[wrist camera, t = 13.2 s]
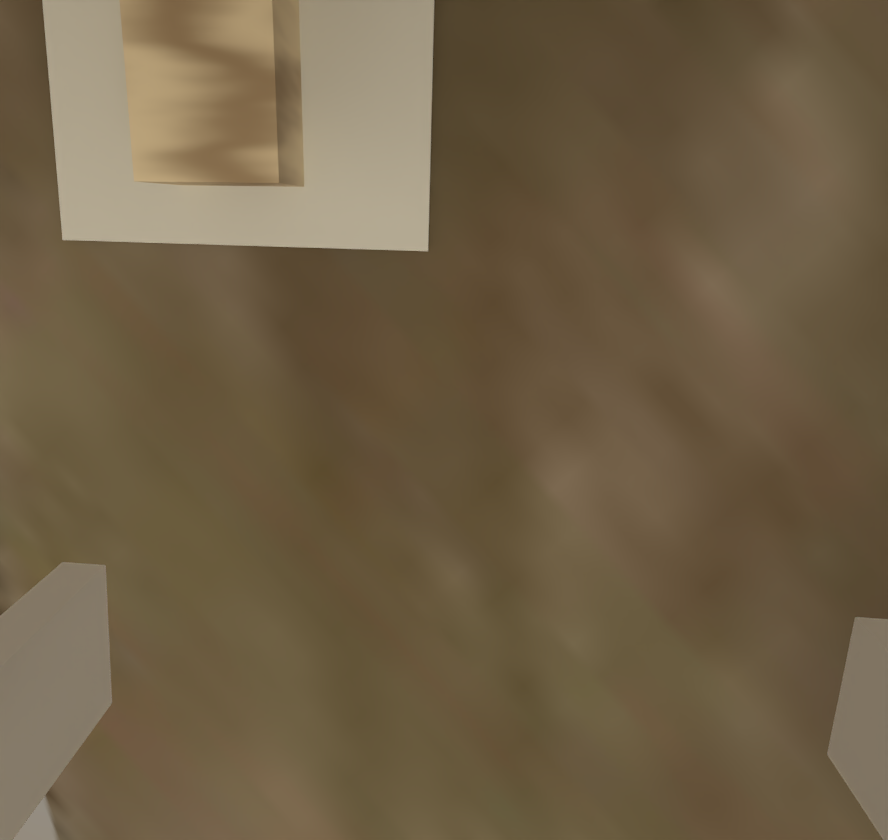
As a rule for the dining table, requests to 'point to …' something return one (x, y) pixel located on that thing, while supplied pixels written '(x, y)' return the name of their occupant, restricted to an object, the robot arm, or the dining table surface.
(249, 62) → the oak block
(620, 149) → the dining table surface
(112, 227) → the felt mat
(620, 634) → the dining table surface
